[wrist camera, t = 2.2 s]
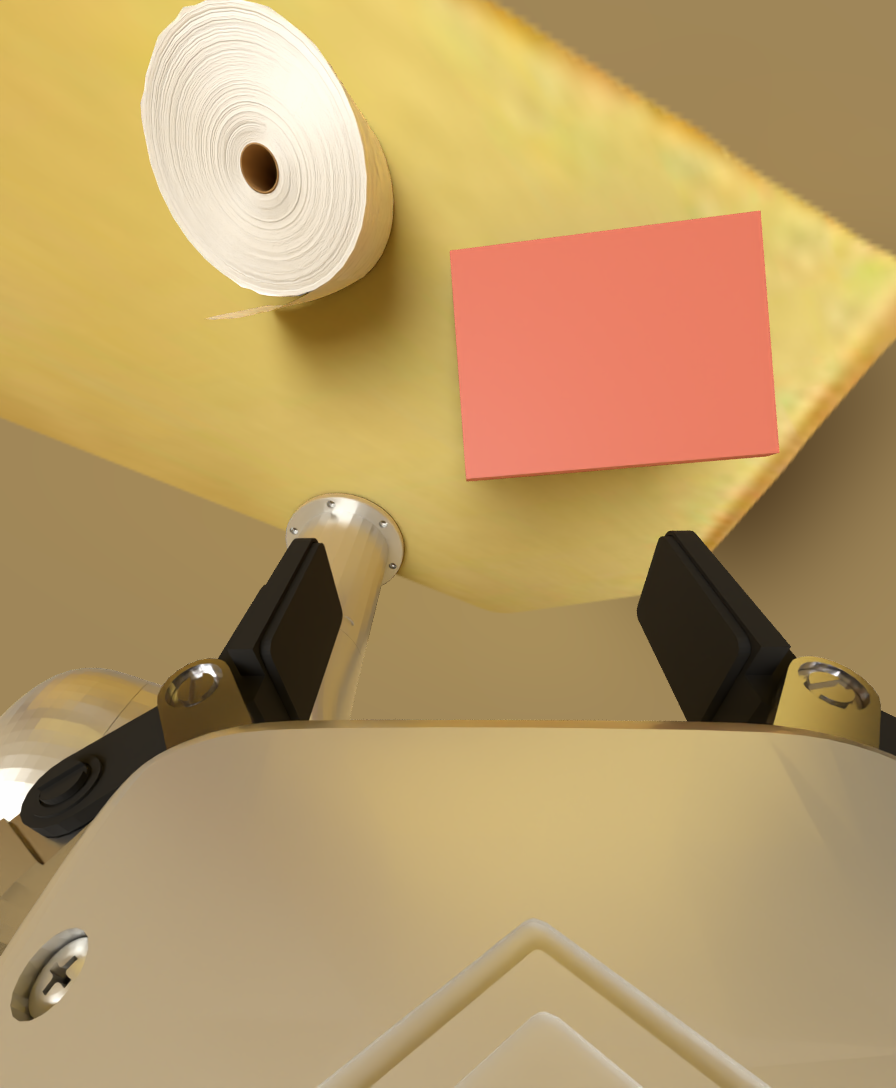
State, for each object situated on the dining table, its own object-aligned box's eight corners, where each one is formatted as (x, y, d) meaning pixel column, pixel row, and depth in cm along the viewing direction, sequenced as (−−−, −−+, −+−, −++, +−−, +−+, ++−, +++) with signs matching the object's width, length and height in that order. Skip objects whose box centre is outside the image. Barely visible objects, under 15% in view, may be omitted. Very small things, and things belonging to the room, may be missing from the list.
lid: (766, 456, 24) (779, 452, 23) (466, 481, 25) (466, 478, 24) (748, 224, 24) (760, 210, 23) (450, 262, 26) (449, 250, 25)
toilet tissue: (392, 89, 25) (358, 2, 17) (397, 312, 32) (375, 329, 23) (219, 79, 25) (99, -14, 17) (261, 304, 32) (191, 319, 23)
